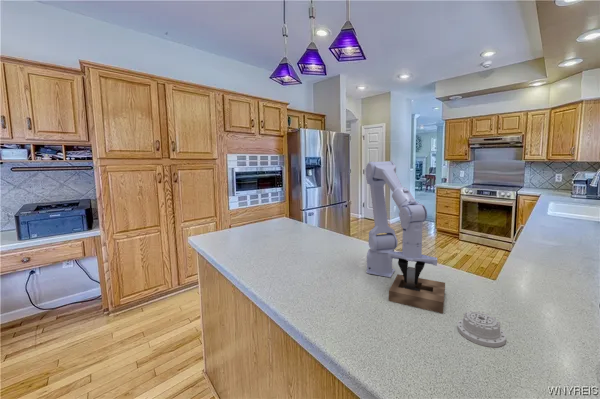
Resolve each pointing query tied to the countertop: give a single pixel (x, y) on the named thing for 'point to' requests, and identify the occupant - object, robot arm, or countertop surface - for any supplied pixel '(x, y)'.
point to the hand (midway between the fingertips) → (411, 282)
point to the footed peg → (411, 279)
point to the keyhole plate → (419, 294)
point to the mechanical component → (481, 329)
